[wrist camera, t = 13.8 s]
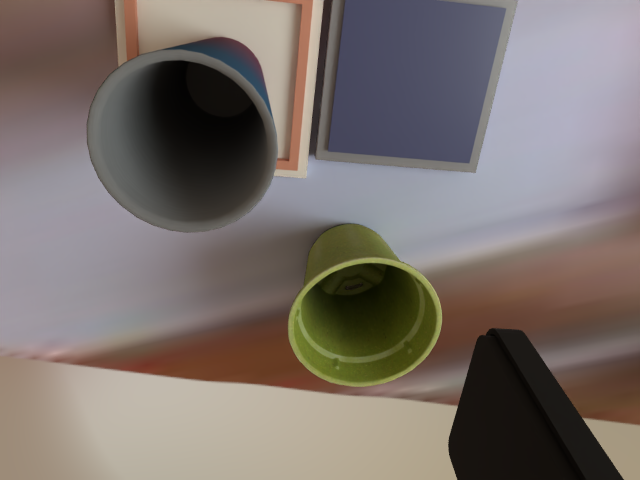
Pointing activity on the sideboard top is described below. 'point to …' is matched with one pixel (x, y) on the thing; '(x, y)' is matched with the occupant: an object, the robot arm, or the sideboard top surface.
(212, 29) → the cream flat square piece
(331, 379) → the plant pot
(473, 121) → the ink pad
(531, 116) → the sideboard top surface
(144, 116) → the cup
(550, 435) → the robot arm
